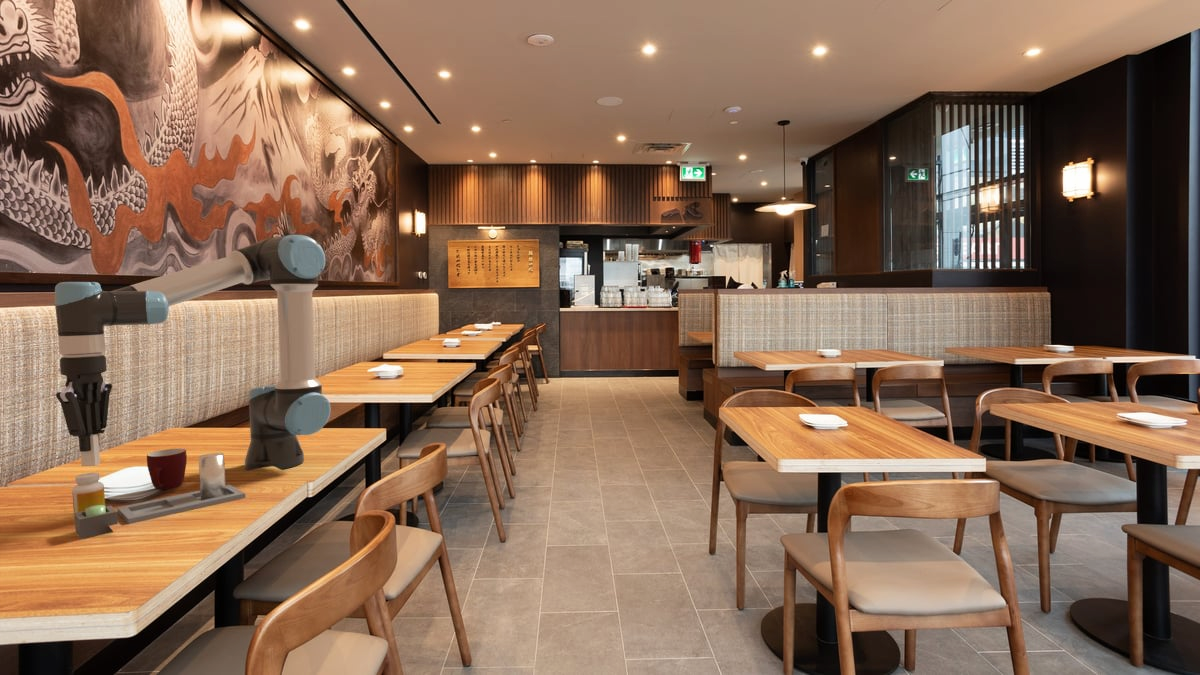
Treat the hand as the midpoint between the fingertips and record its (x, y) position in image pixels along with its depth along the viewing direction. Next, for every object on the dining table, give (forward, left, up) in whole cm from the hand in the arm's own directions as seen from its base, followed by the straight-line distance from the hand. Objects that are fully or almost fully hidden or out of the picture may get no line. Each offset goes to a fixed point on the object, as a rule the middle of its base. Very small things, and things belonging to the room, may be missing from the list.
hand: (91, 465), depth 133 cm
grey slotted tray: (-15, +6, -13) cm, 20 cm away
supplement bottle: (0, -4, -13) cm, 14 cm away
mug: (-16, -12, -13) cm, 24 cm away
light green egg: (+1, +7, -12) cm, 13 cm away
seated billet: (-21, +6, -11) cm, 24 cm away
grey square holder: (+1, +7, -13) cm, 14 cm away
